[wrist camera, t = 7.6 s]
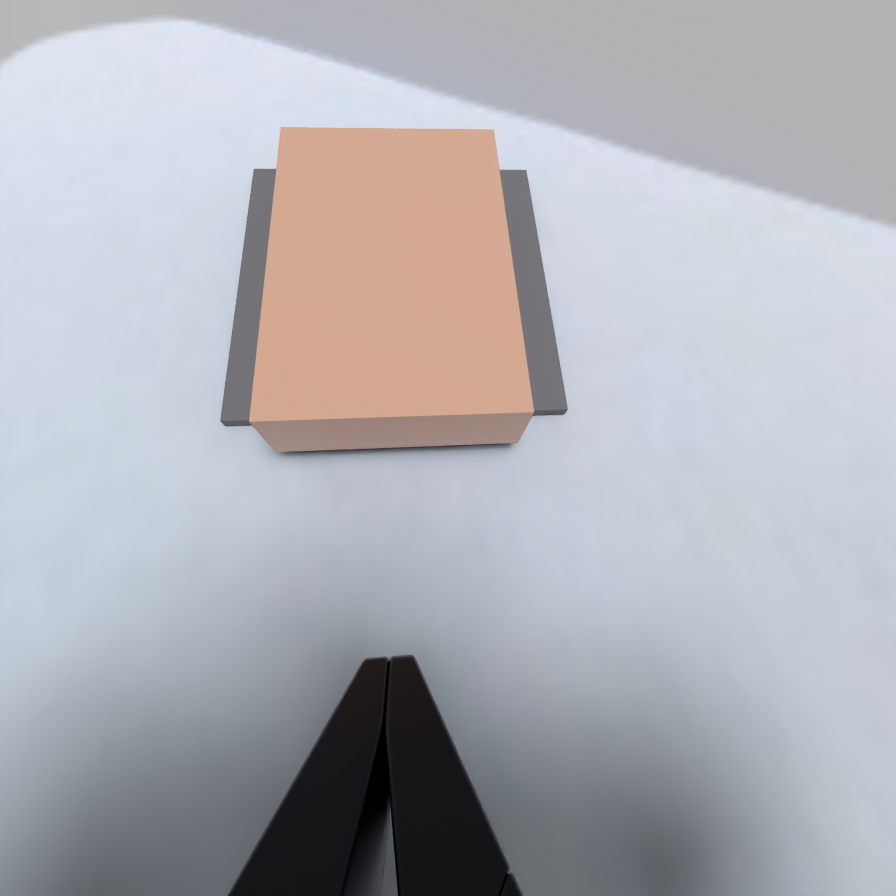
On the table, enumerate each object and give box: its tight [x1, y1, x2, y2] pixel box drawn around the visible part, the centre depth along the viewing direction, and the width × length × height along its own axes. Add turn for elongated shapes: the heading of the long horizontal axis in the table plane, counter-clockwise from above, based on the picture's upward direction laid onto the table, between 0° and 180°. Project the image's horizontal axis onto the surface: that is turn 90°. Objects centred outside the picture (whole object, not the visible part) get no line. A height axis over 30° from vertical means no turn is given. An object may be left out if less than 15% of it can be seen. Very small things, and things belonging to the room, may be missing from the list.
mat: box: [220, 169, 568, 426], centre depth 18 cm, size 12×12×1 cm
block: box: [249, 127, 534, 452], centre depth 16 cm, size 3×8×12 cm
